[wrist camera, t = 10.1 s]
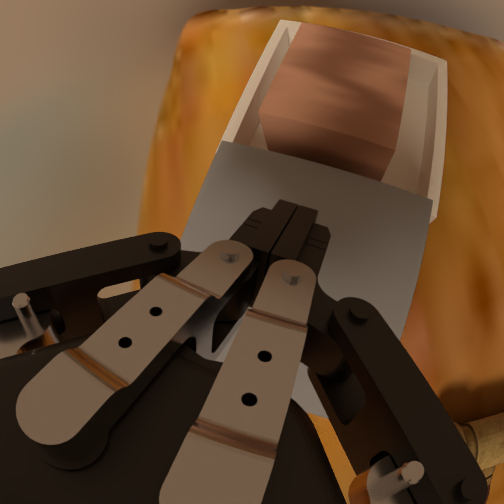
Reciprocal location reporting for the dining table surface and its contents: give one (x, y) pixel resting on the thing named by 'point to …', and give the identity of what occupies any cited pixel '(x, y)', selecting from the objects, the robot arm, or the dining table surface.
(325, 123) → the terracotta block
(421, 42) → the dining table surface
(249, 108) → the box
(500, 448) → the gavel
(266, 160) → the grey platform
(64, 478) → the robot arm
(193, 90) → the dining table surface
